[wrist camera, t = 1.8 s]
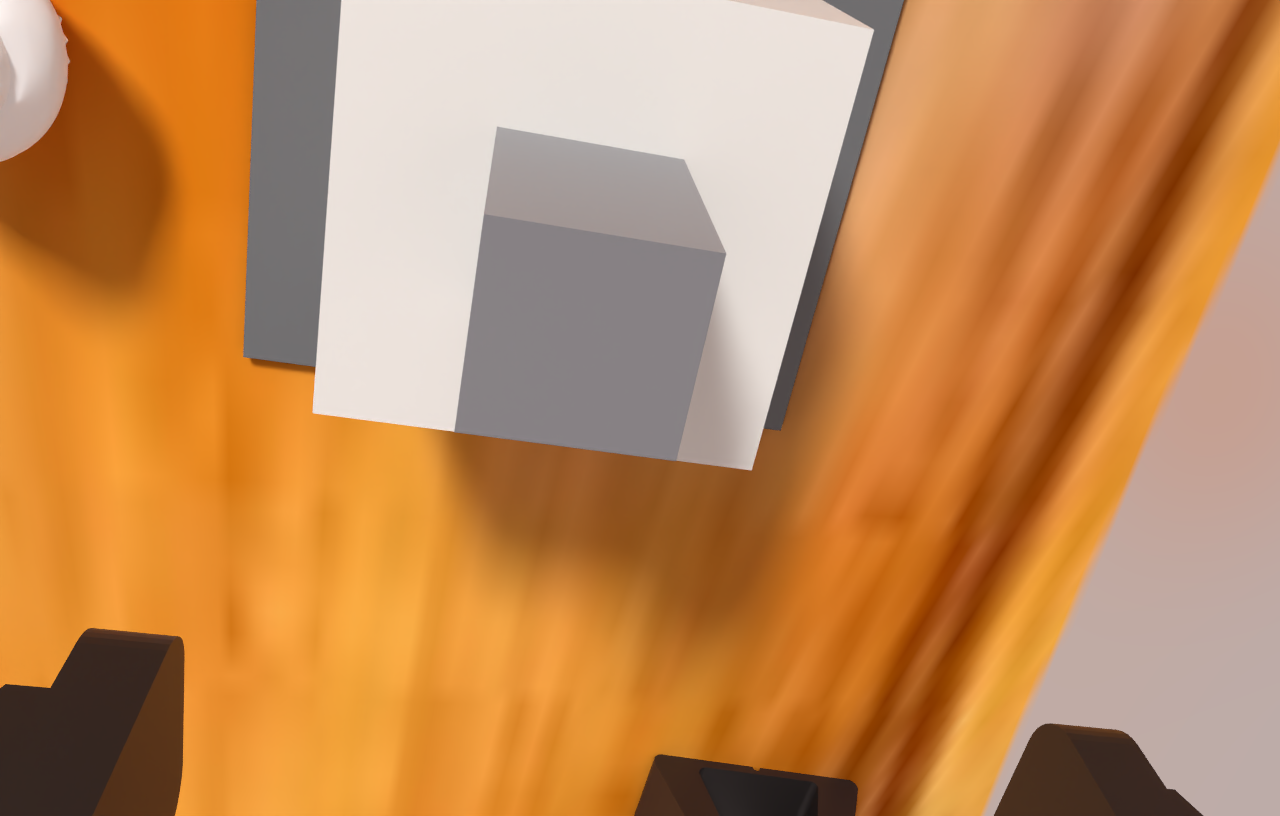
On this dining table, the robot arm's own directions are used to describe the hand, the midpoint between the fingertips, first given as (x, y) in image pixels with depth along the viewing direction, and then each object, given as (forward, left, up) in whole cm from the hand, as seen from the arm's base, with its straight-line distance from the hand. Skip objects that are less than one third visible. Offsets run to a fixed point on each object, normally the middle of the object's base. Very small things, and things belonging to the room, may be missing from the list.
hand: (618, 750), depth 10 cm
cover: (0, 0, -25) cm, 25 cm away
